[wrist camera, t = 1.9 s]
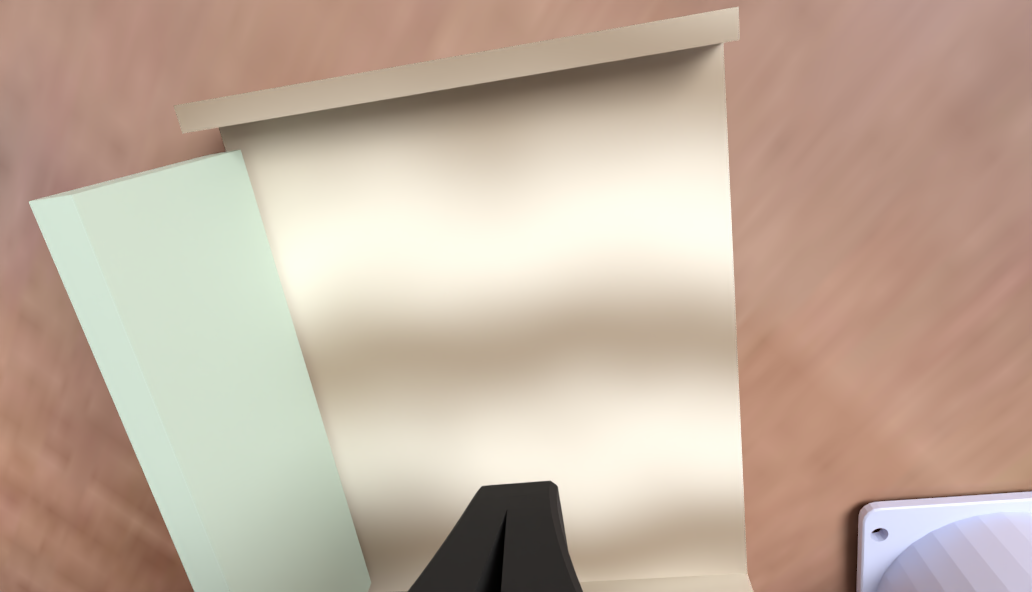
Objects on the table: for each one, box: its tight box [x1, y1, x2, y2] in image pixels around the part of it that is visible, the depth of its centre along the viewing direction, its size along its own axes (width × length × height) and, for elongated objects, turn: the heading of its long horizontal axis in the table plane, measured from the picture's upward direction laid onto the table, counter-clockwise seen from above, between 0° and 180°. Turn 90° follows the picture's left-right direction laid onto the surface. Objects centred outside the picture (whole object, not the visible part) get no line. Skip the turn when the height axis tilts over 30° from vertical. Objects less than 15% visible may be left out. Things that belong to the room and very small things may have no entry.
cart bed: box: [174, 7, 753, 592], centre depth 18 cm, size 16×12×4 cm
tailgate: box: [29, 149, 371, 592], centre depth 15 cm, size 14×1×6 cm, turn 9°
